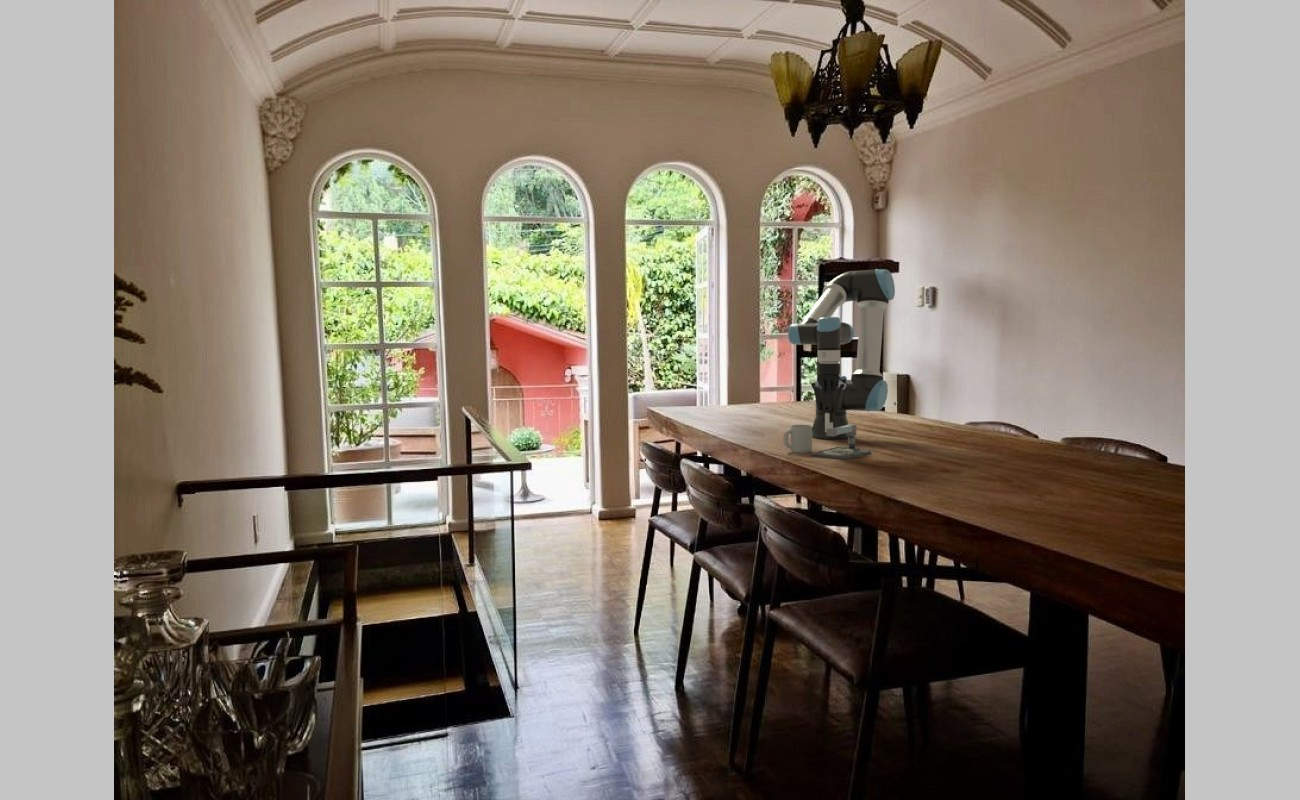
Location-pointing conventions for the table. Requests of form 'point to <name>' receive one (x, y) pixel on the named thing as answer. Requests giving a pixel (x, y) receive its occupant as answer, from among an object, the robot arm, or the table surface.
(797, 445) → the cup
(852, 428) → the cable arm
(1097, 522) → the table surface
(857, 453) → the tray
